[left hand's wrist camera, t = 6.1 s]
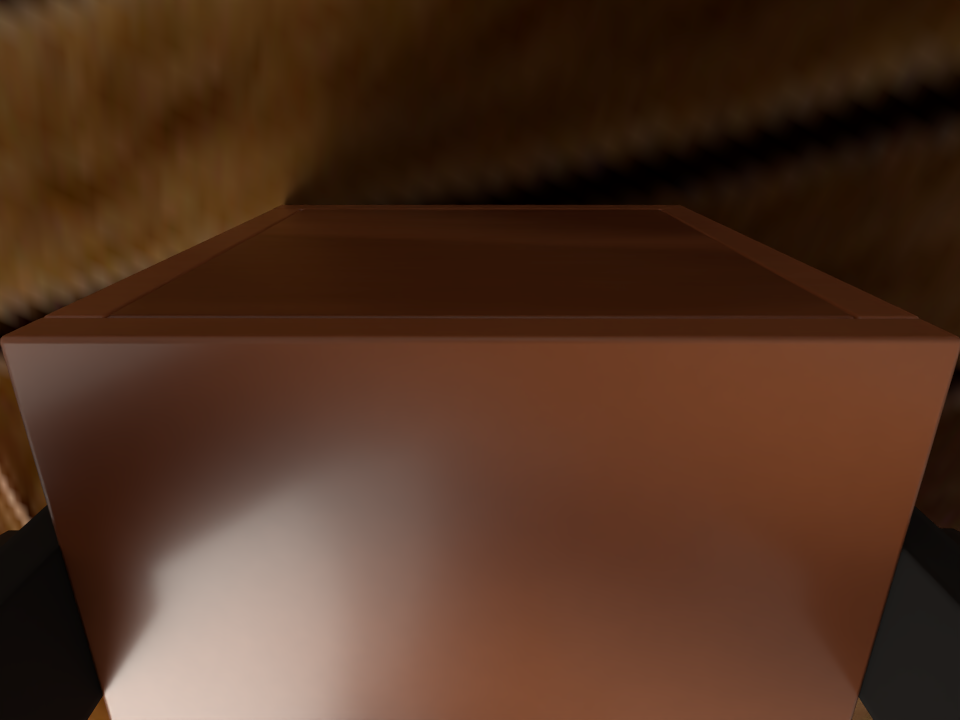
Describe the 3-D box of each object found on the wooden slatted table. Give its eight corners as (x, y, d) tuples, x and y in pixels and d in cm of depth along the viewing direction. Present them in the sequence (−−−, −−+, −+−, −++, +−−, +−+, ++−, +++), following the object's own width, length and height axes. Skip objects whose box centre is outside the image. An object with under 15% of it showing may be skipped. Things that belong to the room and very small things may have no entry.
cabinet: (625, 702, 25) (731, 1137, 14) (336, 701, 25) (229, 1135, 14) (681, 204, 18) (967, 337, 7) (280, 204, 18) (-7, 336, 7)
